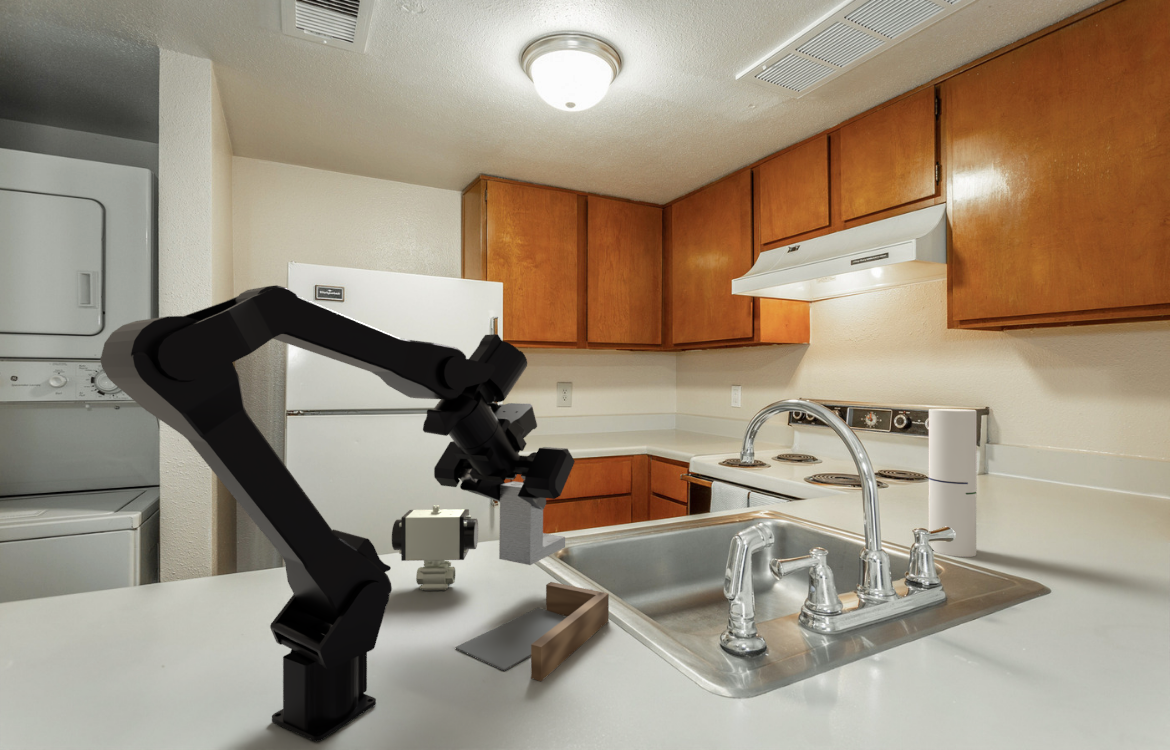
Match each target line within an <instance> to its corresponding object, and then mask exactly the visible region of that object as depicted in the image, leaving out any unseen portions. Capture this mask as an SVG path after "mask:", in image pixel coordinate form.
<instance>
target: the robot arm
mask: <svg viewBox="0 0 1170 750" xmlns="http://www.w3.org/2000/svg"><path fill="white" fill-rule="evenodd" d="M271 340H276V341H279V342H281V343H284V344H288V345H290V346H292V347H297V348H300V349H302V350H305V351H308V352H311V353H313V354H318V355H320V356H322V357H323V356H324V357H326V358H328V359H331V360H335V361H338V362H341V363H344V364H346V365H350V366H353V367H355V368H358V369H361V370H364V371H367V372H369V373H372V374H374V375H375V376H377V377H379V378H380V379H381V380H382V381H383V382H384V383H385V384H386V386H388V387H389V388H390V387H391V388H392V389H393V390H395V391H397V392H398V393H401V394H402V395H404V396H406V397H408V398H411V399H424V400H426V399H427V400H439V401H438V403H437V404H436V405H435V406H434V408H433V409H432V408H428V409H426V417H425V420H424V422H423V426H422V427H423V428H422V431H423V432H424V433H426V434H433V435H437V436H438V435H439V436H445V437H447V436H449V437H450V438H451V439H452V441H450V442H449V443H448V445H447V447H446V448H445V450H444V451H443V453H442V454H441V456H440V458H439V460H438V461H437V463H436V465H435V466H434V468H433V477H434V479H435V480H436V482H437V483H439V485H440V486H442V487H452V488H457V487H458V485H460V486H459V487H460V489H461V490H463V491H465V492H469V493H472V494H475V495H477V496H478V495H479V496H481V497H484V498H487V499H489V500H490V499H491V500H493V501H494V502H495V501H496V502H498V503H500V485H502V484H505V483H506V482H505V481H506V480H510V481H511V480H512V481H513V480H515V479H516V478H517V475H520V477H521V478H522V480H523V481H522V482H523V485H522V488H521V490H520V492H519V494H518V497H520V498H522V499H523V500H525V501H527V502H528V503H530V504H532V505H533V506H535V507H537V508H539V509H542V510H543V511H544V509H545V507H546V505H547V499H550V500H556V499H557V498H558V497H560V496H561V495H562V493H563V491H564V487H565V486H566V483H567V481H568V479H569V477H570V475H571V472H572V469H573V467H574V464H575V459H574V457H573V456H572V454H571V452H570V451H569V448H564V447H551V446H550V447H549V446H548V447H547V446H542V447H539V448H538V449H537V452H535V451H533V452H531V453H529V455H520V452H523V451H524V450H525V448H526V446H527V442H526V440H525V439H524V438H526V437H527V436H528V435H530V433H531V432H532V431H533V430H535V429H537V427H538V423H537V419H536V415H535V412H534V408H533V404H531V403H521V402H520V403H517V402H516V403H512V402H511V403H505V404H504V403H503V404H498V403H501V402H503V401H505V400H506V399H507V397H508V395H509V394H510V392H511V391H512V390H513V388H514V387H515V385H516V383H517V382H518V381H519V379H520V377H521V376H522V374H523V373H524V372H525V371H526V369H527V367H528V360H527V358H526V355H525V354H524V352H523V351H522V350H519V349H518V348H517V347H516V346H515V345H513V344H511V343H509V342H508V341H505V340H502V338H501V337H500V336H499V334H497V333H496V334H495V333H494V334H493V333H492V334H485V335H484V336H483V338H481V340H480V342H479V344H478V346H477V348H476V349H475V350H474V351H473V353H472V354H471V355H470V357H469V358H467V356H466V354H465V353H464V352H463V350H461V349H459V348H458V347H455V346H451V345H446V344H441V343H437V342H436V343H435V342H428V341H421V340H420V341H419V340H415V339H414V340H412V339H405V338H402V337H398V336H397V335H394V334H391V333H390V332H389V333H388V332H386V331H383V330H381V329H380V328H377V327H374V326H372V325H369V324H367V323H366V322H365V323H364V322H362V321H359V320H357V319H354V318H353V317H350V316H348V315H345V314H343V313H340V312H338V311H336V310H333V309H331V308H329V307H326V306H324V305H322V304H318V303H316V302H314V301H311V300H309V299H307V298H304V297H302V296H299V295H297V294H296V293H295V292H294V291H291V289H289V288H287V287H284V286H282V285H277V284H276V285H269V286H263V287H257V288H250V289H246V290H245V291H243V292H241V293H239V295H238V296H235V297H233V298H229V299H227V300H225V301H222V302H220V303H216V304H213V305H211V306H208V307H205V308H203V309H199V310H197V311H194V312H190V313H188V314H185V315H175V316H173V315H171V316H170V315H169V316H161V317H153V318H147V319H142V320H141V319H139V320H135V321H132V322H128V323H125V324H122V325H121V326H120V327H118V328H117V329H115V330H114V331H112V332H111V334H110V335H109V336H108V338H107V339H106V341H104V344H103V348H102V352H101V355H100V364H101V365H100V366H101V368H102V370H103V372H104V373H105V375H106V376H107V379H109V380H110V382H112V384H114V385H115V386H116V387H117V388H119V389H120V390H121V391H122V392H123V393H124V394H126V395H127V396H128V397H129V398H130V399H132V400H133V401H134V402H135V403H136V404H138V405H139V406H140V407H141V408H143V409H144V410H145V411H147V412H148V413H149V414H151V415H152V416H154V417H156V419H158V420H160V421H161V422H163V423H164V424H166V425H167V426H168V427H170V428H171V429H173V430H174V431H175V432H177V433H179V434H180V435H181V436H183V437H184V438H185V439H186V440H187V441H188V442H189V443H190V445H191V446H192V448H194V450H196V452H197V453H198V454H199V456H200V457H201V458H202V459H203V461H204V462H205V463H206V464H207V465H208V467H209V469H211V471H212V472H213V473H214V474H215V476H216V477H217V478H218V479H219V480H220V482H221V483H222V484H223V486H224V487H225V488H226V489H227V490H228V492H230V494H231V496H233V498H234V499H235V500H236V501H237V503H238V504H239V505H240V506H241V508H242V509H243V510H244V512H245V513H247V515H248V516H249V517H250V519H251V520H252V522H254V524H255V525H256V526H257V527H258V529H259V530H260V532H262V533H263V535H264V536H265V538H267V539H268V541H269V542H270V544H271V545H272V546H273V547H274V548H275V549H276V551H277V552H278V553H279V555H280V556H281V557H282V560H283V561H284V566H285V572H286V578H287V583H288V585H289V588H290V589H291V591H292V593H293V594H292V596H291V597H290V598H289V600H288V601H287V603H285V605H284V606H283V607H282V609H281V610H280V611H279V613H278V614H277V615H276V617H274V619H273V621H272V622H271V623H270V625H269V627H270V630H271V633H272V635H273V637H274V640H275V642H276V643H277V644H279V645H282V646H285V647H287V648H288V649H291V650H290V652H289V653H288V654H285V655H283V656H282V709H279V710H278V711H276V712H275V713H273V714H272V715H271V722H272V723H273V724H275V725H278V726H280V727H282V728H285V729H286V730H289V731H291V732H293V733H296V734H298V735H300V736H302V737H303V738H307V739H308V740H310V741H313V742H320V741H322V740H324V739H326V738H327V737H329V736H331V734H333V733H334V732H337V731H338V730H339V729H341V728H342V727H344V726H346V725H347V724H349V723H350V722H352V721H353V720H355V719H356V718H358V717H359V716H361V715H363V714H364V713H365V712H367V711H369V710H370V709H372V708H373V707H375V706H376V704H377V698H375V697H374V696H371V695H368V694H366V692H367V688H368V652H371V651H373V650H374V649H375V647H376V644H377V639H378V637H379V633H380V630H381V626H382V622H383V620H384V616H385V613H386V608H387V606H388V602H389V601H390V600H389V599H390V595H391V593H392V590H393V588H392V587H393V586H392V582H391V580H390V577H389V576H388V574H387V572H389V571H390V570H391V566H390V565H388V564H386V563H384V561H382V560H381V558H380V556H379V555H378V553H377V550H376V547H375V545H374V543H372V542H371V540H370V539H369V538H367V537H364V536H363V537H362V536H359V535H356V534H351V533H348V532H346V531H340V530H338V529H332V528H331V526H330V525H329V524H328V523H327V521H326V520H325V518H324V517H323V515H322V514H321V513H320V511H319V510H318V509H317V507H316V506H315V504H314V503H313V502H312V501H311V499H310V498H309V496H308V495H307V493H306V491H304V489H303V488H302V487H301V486H300V484H299V482H298V481H297V480H296V478H295V477H294V476H293V475H292V473H291V472H290V470H289V469H288V467H287V466H286V465H285V464H284V462H283V460H282V459H281V458H280V456H279V455H278V454H277V452H276V451H275V449H274V448H273V447H272V445H271V444H270V443H269V441H268V440H267V438H266V437H265V435H263V433H262V431H260V429H259V428H258V427H257V425H256V424H255V422H254V421H253V420H252V418H251V417H250V416H249V414H248V412H247V410H246V407H245V405H244V397H243V392H242V387H241V381H240V376H239V374H238V371H237V369H236V367H235V365H234V364H233V363H234V362H237V361H239V360H240V359H243V358H245V357H246V356H248V355H250V354H252V353H253V352H255V351H257V350H258V349H259V348H261V347H262V346H264V345H266V344H267V343H268V342H270V341H271ZM460 482H461V484H459V483H460Z"/></svg>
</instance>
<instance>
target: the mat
mask: <svg viewBox="0 0 1170 750" xmlns="http://www.w3.org/2000/svg"><path fill="white" fill-rule="evenodd" d="M567 617H568V616H565V615H560V614H557V613H554V612H551V611H548V610H546V608H545V609H544V608H541V607H536V608H534V609H532V610H529V611H528V612H526V613H523V614H521V615H519V616H517V617H515V618H513V619H511V620H509V621H507V622H505V623H503V624H500V625H498V626H497V627H495V628H492V629H490V630H487V631H486V632H484V633H482V634H480V635H477V636H476V637H473V638H471V639H469V640H467V641H465V642H463V643H461V644H459V645H457V646H454V648H456V649H455V650H457V649H458V650H457V651H459V650H460V652H461V651H463V652H465V653H464V654H466V653H468V654H469V655H468V654H467V655H468V656H470V655H471V657H472V656H474V657H476V658H475V659H477V658H478V659H477V660H479V661H481V660H482V661H481V662H483V661H484V662H483V663H485V662H486V663H485V664H488V663H489V664H488V665H490V664H491V665H490V666H492V665H493V667H494V666H495V667H494V668H496V667H498V668H497V669H499V668H500V669H499V670H501V669H502V670H501V671H503V670H504V672H505V670H506V671H507V669H508V670H509V669H511V668H513V667H515V666H517V665H518V664H520V663H521V662H523V661H525V660H527V659H529V658H531V644H533V643H534V642H535V641H536V640H538V639H539V638H540V637H542V636H543V635H544V634H546V633H547V632H548V631H550V630H551V629H552V628H554V627H555V626H556V625H557V624H559V623H560V622H561V621H563V620H564V619H565V618H567ZM463 652H462V653H463ZM474 657H473V658H474Z"/></svg>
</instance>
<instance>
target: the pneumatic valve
mask: <svg viewBox="0 0 1170 750" xmlns="http://www.w3.org/2000/svg"><path fill="white" fill-rule="evenodd" d="M392 525H393V526H392V531H391V546H392V549H393V550H394V551H399V554H400V555H401V557H400V558H401V562H403V561H404V562H405V561H406V562H408V561H409V562H410V561H423V566H420V567H418V568H417V571H416V578H415V580H416V584H417V585H419V589H420V590H421V591H423V592H429V591H433V592H435V591H437V592H438V591H440V592H441V591H442V592H443V591H446V590H448V588H449V587H448V585H453V584H454V583H455V581H456V567H455V566H452V562H451V561H464V560H465V559H466V557H467V555H468V552H469V551H470V550H477V547H478V544H479V543H478V541H479V522H478V519H477V518H472V516H471V515H470V509H465V508H464V509H462V508H460V509H459V508H458V509H457V508H456V509H446V508H444V509H440V505H439V504H437V505H436V504H434V505H432V509H409V510H407V512H406V513H405V514H404V515H403V516H401V517H400V519H399V518H398V519H397V518H396V519H395V521H394V522H393V524H392Z"/></svg>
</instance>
